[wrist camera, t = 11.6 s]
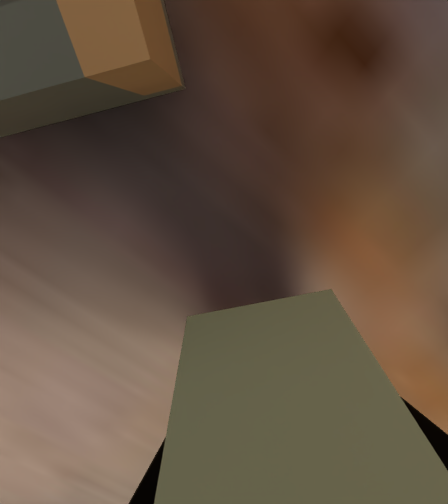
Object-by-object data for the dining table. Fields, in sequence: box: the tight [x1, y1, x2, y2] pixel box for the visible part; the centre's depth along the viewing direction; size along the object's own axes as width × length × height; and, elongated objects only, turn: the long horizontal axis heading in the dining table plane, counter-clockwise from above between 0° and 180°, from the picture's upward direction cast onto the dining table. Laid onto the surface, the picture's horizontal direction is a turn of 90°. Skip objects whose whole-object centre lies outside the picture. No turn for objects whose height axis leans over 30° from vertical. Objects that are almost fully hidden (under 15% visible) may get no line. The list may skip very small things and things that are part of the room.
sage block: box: [154, 289, 448, 504], centre depth 7 cm, size 4×4×6 cm
